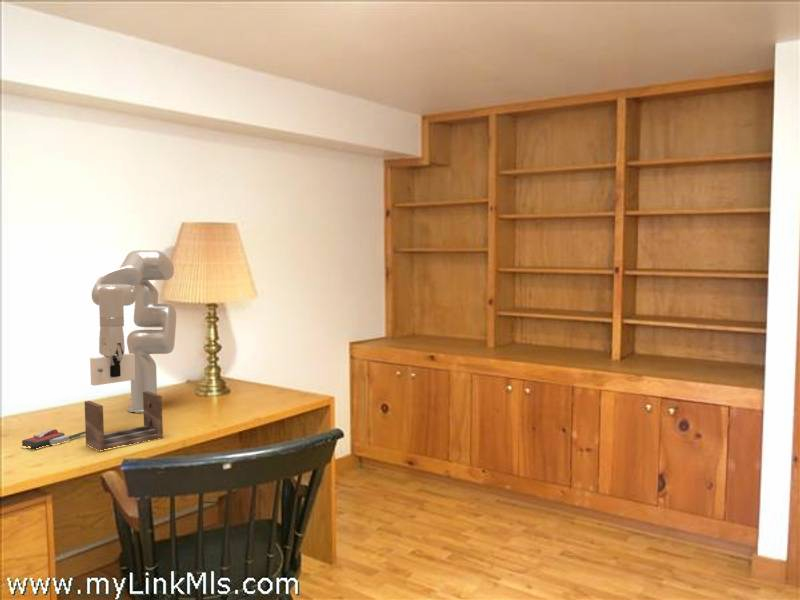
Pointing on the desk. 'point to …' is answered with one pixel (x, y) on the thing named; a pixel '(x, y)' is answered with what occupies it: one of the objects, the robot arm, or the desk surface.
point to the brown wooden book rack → (124, 437)
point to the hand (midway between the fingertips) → (113, 375)
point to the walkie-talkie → (48, 438)
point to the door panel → (102, 369)
